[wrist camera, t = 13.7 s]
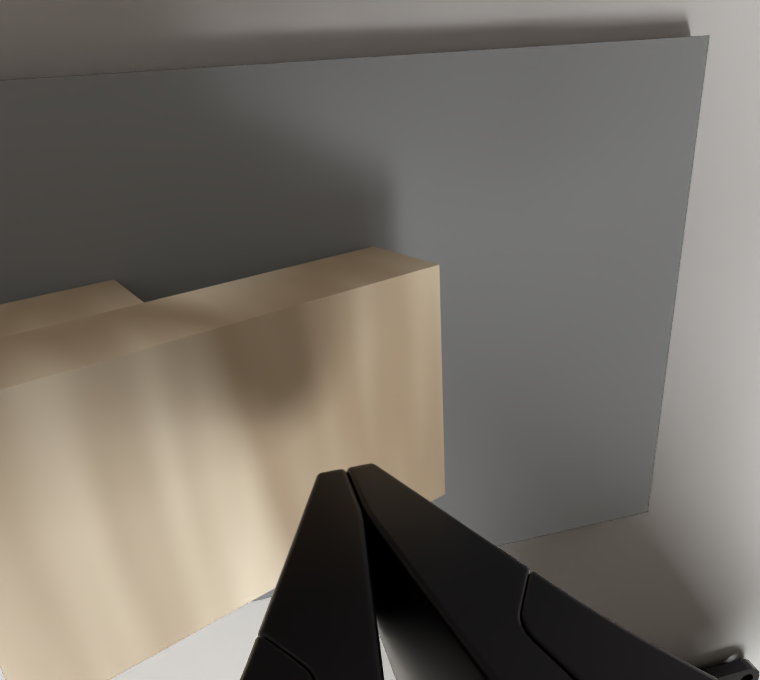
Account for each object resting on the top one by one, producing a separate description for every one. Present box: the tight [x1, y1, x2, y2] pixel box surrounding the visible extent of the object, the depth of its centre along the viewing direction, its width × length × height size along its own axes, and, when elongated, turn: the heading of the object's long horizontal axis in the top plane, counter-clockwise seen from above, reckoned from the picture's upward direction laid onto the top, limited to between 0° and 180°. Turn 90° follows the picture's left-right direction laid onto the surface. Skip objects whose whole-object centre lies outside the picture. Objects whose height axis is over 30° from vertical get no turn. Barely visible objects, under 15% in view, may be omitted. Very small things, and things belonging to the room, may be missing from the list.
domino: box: [0, 246, 445, 680], centre depth 11 cm, size 2×5×8 cm
